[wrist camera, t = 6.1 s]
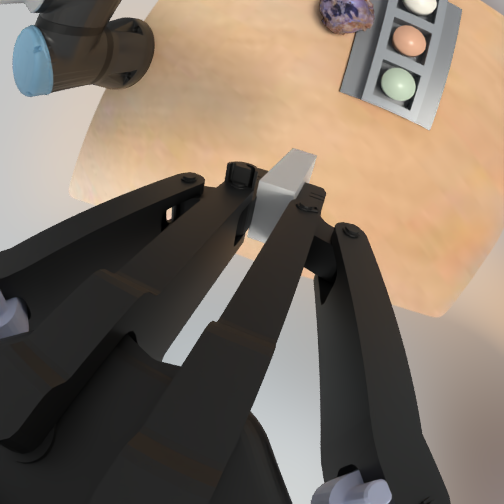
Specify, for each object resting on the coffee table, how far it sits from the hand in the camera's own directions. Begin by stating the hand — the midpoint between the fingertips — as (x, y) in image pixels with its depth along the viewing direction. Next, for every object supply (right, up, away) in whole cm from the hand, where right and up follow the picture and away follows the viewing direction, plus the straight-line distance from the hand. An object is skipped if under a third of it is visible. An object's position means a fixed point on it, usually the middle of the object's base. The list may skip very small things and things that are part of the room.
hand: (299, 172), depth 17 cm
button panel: (+18, +24, +9) cm, 31 cm away
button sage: (+16, +17, +12) cm, 26 cm away
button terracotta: (+18, +23, +8) cm, 30 cm away
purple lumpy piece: (+10, +29, +9) cm, 32 cm away
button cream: (+19, +28, +3) cm, 34 cm away
